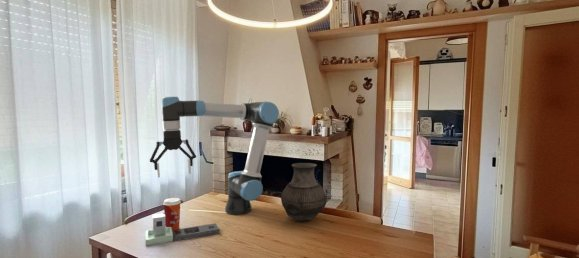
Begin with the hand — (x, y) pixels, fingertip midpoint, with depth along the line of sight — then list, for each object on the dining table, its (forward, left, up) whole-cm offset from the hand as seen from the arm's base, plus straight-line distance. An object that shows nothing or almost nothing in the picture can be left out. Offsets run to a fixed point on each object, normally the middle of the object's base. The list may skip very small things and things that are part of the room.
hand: (174, 174), depth 137 cm
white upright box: (+7, +3, -27) cm, 28 cm away
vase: (-64, +10, -28) cm, 71 cm away
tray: (+7, +3, -28) cm, 29 cm away
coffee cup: (+1, -5, -29) cm, 29 cm away
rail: (-9, +5, -28) cm, 30 cm away
